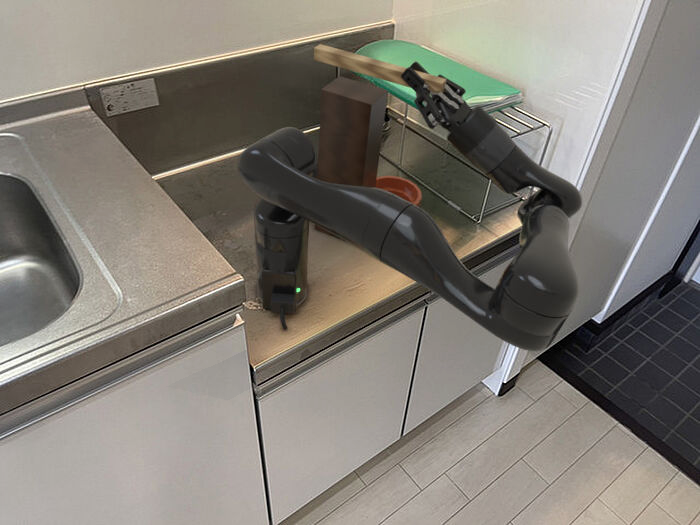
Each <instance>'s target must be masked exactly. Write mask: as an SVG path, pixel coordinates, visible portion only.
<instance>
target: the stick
mask: <svg viewBox="0 0 700 525" xmlns="http://www.w3.org/2000/svg"><path fill="white" fill-rule="evenodd" d="M313 60H314V61H317V62H320V63H322V64H323V63H324V64H326V65H330V66H333V67H337V68H339V69H340V68H341V69H344V70H346V71H351V72H354V73H358V74H361V75H366V76H369V77H372V78H376V79H379V80H383V81H386V82H389V83H392V84H396V85H399V86H403V87H407V88H410V89H412V88H411V87H410V86H409V85H408V84H407V83H406V82H405V81H404V80H403V79H402V78H401V75H402V74H403V72H404V71H405V70H406V69H407V68H408V67H406V66H405V67H404V66H401V65H397V64H393V63H390V62H386V61H383V60H380V59H376V58H372V57H369V56H365V55H361V54H358V53H355V52H350V51H346V50H343V49H340V48H336V47H333V46H330V45H325V44H323V43H319V44H318V45H316V46H314V47H313ZM414 71H415V72H416V73H417V74H418V75H419V76H420V77H421V78H422V79H423V80H424V81H425V83H427V84H428V85H429V86H431V87H432V88H433V89H434V90H435V91H440V92H442V93H443V92H444V89H445V84H446V79H445V78H441V77H437V76H438V75H434V74H431V73H429V74H427V73H423V72H419V71H416V70H414ZM425 83H424V84H425Z"/></svg>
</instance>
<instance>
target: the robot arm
mask: <svg viewBox="0 0 700 525" xmlns="http://www.w3.org/2000/svg"><path fill="white" fill-rule="evenodd" d="M406 68H407V69H406V70H405V71H404V72H403V74H402V75H401V78H402V79H403V80H404V81H405V82H406V83H407V84H408V85H409V86H410V87H411V88H410V87H409V88H410V89H412V90H413V91H414V93H415V99H414V100H413V101H414V104H415V106H416V107H417V109H418V111H419V112H420V114H421V116H422V118H423V119H424V121H425V123H426V125H427V127H428V128H429V129H431V130H434V129H435V128H436V127H437V126H440V127H441V128H442V129H444V130H446V131H447V132H449V133H448V135H447V137H446V139H447V141H448V142H449V143H450V144H451V145H452V146H453V147H454V148H455V149H456V150H457V151H458V152H459V153H460V154H461V155H462V156H463V157H464V158H465V159H466V160H467V161H468V162H469V163H470V164H471V165H473V166H474V167H475V169H478V171H480V172H482V173H483V174H484V175H485V176H486V177H487V178H488V179H489V180H490V181H491V182H492V183H493V184H494V185H495V186H496V187H497V188H498V189H499V190H500V191H501V192H503V193H504V194H506V195H513V194H516V193H518V192H521V191H522V190H524V189H526V188H527V189H528V188H530V187H531V188H532V187H533V188H536V189H537V188H538V189H537V191H535V192H534V193H533V194H532V195H530V196H529V197H528V198H526V199H525V200H524V201H523V202H522V203H521V204H520V205H519V207H518V209H517V218H518V220H519V223H521V229H520V233H519V240H518V243H519V247H520V250H519V251H518V252H517V254H516V255H515V256H514V257H513V258H512V260H511V261H510V262H509V263H508V264H507V266H506V267H505V269H504V270H503V272H502V274H501V276H500V277H499V280H498V282H497V284H496V286H495V288H494V287H492V286H491V285H489V284H488V283H486V282H485V281H483V280H482V279H480V277H478V276H476V275H475V274H474V273H473V272H471V271H470V270H469V268H467V267H466V266H465V264H463V262H462V261H461V260H460V258H459V257H458V255H457V254H456V253H455V251H454V249H453V247H452V246H451V244H450V242H449V241H448V240H447V238H446V236H445V234H444V233H443V231H442V229H441V228H440V227H439V225H438V223H437V222H436V221H435V220H434V218H433V217H432V216H431V215H430V214H429V213H428V212H427V211H426V210H424V209H423V208H421V206H420V207H418V206H416V205H414V204H413V203H411V202H409V201H407V200H405V199H403V198H401V197H399V196H397V195H395V194H393V193H391V192H389V191H386V190H383V189H379V188H374V187H368V186H360V185H350V184H339V183H331V182H326V181H322V180H319V179H317V178H318V155H317V151H316V148H315V146H314V143H313V141H312V140H311V139H310V137H309V136H308V135H307V134H306V133H305V132H304V131H303V130H301V129H298V128H296V127H293V126H292V127H290V126H286V127H282V128H280V129H277V130H275V131H274V132H272V133H270V134H268V135H265V136H264V137H262V138H260V139H258V140H257V141H255V142H253V143H251V144H250V145H249V146H247V147H246V148H245V149H243V151H242V152H241V153H240V155H239V156H238V159H237V163H236V165H237V166H236V167H237V172H238V174H239V177H240V179H241V180H242V182H243V184H244V185H245V186H246V188H247V189H248V190H250V192H252V193H253V194H254V195H255V196H257V197H258V198H259V199H258V201H257V202H256V204H255V206H254V208H253V225H254V246H255V263H256V264H255V266H256V281H257V282H256V283H257V288H256V290H257V291H256V294H257V299H258V300H259V302H260V303H261V304H262V309H263V310H270V313H278V314H279V316H280V317H279V319H280V324H281V327H282V329H283V330H284V331H286V330H287V329H288V325H287V323H286V318H285V317H286V316H285V314H289V315H290V314H291V315H294V314H295V312H296V311H297V308H298V307H300V306H301V305H302V304H303V303H304V302H305V300H306V299H307V296H308V267H309V265H308V264H309V236H310V223H312V224H314V225H315V224H316V225H318V226H320V227H322V228H323V229H325V230H327V231H329V232H331V233H333V234H334V235H336V236H338V237H340V238H342V239H344V240H345V242H347V243H349V244H350V245H351V246H353V247H355V248H357V249H358V250H360V251H361V252H363V253H365V254H366V255H368V256H370V257H371V258H373V259H375V260H376V261H378V262H379V263H382V264H383V265H385V266H387V267H388V268H390V269H393V270H394V271H396V272H398V273H400V274H402V275H403V276H406V277H407V278H409V279H411V280H412V281H414V282H416V283H417V284H419V285H420V286H422V287H423V288H426V289H427V290H429V291H430V292H432V293H433V294H435V295H437V296H438V297H439V298H441V299H443V300H444V301H445V302H447V303H448V304H449V305H451V306H452V307H454V308H455V309H457V310H458V311H460V312H461V313H462V314H464V315H465V316H467V317H468V318H469V319H471V320H472V321H474V322H475V324H478V325H479V326H480V327H482V328H483V329H485V330H486V331H488V332H489V333H490V334H492V335H494V336H495V337H496V338H498V339H500V340H501V341H504V342H505V343H507V344H509V345H511V346H513V347H515V348H518V349H521V350H524V351H528V352H541V351H544V350H546V349H548V348H549V347H550V346H551V344H552V343H553V342H554V340H555V339H556V337H557V336H558V334H559V332H560V331H561V329H562V328H563V326H564V324H565V323H566V321H567V320H568V317H569V316H570V315H571V313H572V311H573V310H574V308H575V306H576V304H577V302H578V299H579V295H580V283H579V278H578V274H577V271H576V268H575V265H574V262H573V259H572V256H571V253H570V250H569V236H570V219H571V218H572V217H573V216H575V215H576V214H577V213H579V211H580V210H581V209H582V206H583V196H582V193H581V192H580V191H579V190H580V189H578V187H576V186H575V184H573V183H571V182H570V181H569V180H567V179H565V178H563V177H561V176H559V175H557V174H555V173H553V172H552V171H550V170H548V169H547V168H545V167H543V166H541V165H540V164H538V163H537V162H535V160H533V159H532V158H531V157H530V156H529V155H528V154H527V153H526V152H525V151H524V150H522V148H520V146H519V145H518V144H516V142H515V141H514V140H513V139H512V137H511V136H510V134H508V132H507V131H506V130H505V129H504V128H503V127H501V125H500V124H499V123H498V122H497V121H496V120H495V119H494V118H493V117H492V116H491V115H490V114H488V112H487V111H485V110H484V108H483V107H481V105H476V106H474V107H473V108H471V107H470V106H469V104H468V103H467V101H466V100H465V99H463V96H464V94H466V93H467V91H466V89H465V88H464V87H463V86H461V85H460V84H457V83H456V82H454V81H452V80H451V79H449V78H447V77H446V76H444V75H442V74H438V75H436V76H437V77H441V78H445V79H446V84H445V89H444V92H443V93H442V92H440V91H435V90H434V89H433V88H432V87H431V86H429V85H428V84H427V83H425V81H424V80H423V79H422V78H421V77H420V76H419V75H418V74H417V73H416V72H415V71H414V70H416V71H419V72H423V73H427V74H430V73H429V72H428V71H427V70H426V69H425V68H424V67H423V66H422V65H421V64H420V62H418V61H413V62H412V63H411V64H410V66H408V67H406ZM424 83H425V84H424ZM342 239H341V240H342ZM344 240H343V241H344Z"/></svg>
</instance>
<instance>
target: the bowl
mask: <svg viewBox="0 0 700 525" xmlns="http://www.w3.org/2000/svg"><path fill="white" fill-rule="evenodd" d="M375 188H379V189H383V190H386V191H389V192H391V193H393V194H395V195H397V196H399V197H401V198H403V199H405V200H407V201H409V202H411V203H413V204H414V205H416V206H418V207H420V208H421V203H422V199H423V196H422V190H421V189H420V187H418V185H417V184H416V183H414V182H412V181H411V180H409V179H407V178H404V177H401V176H396V175H382V176H377V179H376V186H375Z"/></svg>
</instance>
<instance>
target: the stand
mask: <svg viewBox="0 0 700 525" xmlns="http://www.w3.org/2000/svg"><path fill="white" fill-rule="evenodd" d="M388 94H389V90H388V89H385V88H381V87H378V86H374V85H371V84H368V83H365V82H361V81H358V80H354V79H351V78H348V77H344V76H341V75H339V76H338V77H336V78H335V79H333V80H332V81H331V82H329V83H328V84H327V85H326V86H324V87H322V88H321V90H320V109H319V110H320V111H319V132H318V133H319V134H318V155H317V159H318V178H317V179H319V180H322V181H326V182H331V183H339V184H350V185H360V186H368V187H374V188H375V186H376V179H377V177H378V169H379V162H380V156H381V147H382V141H383V133H384V132H383V131H384V125H385V116H386V109H387V102H388ZM314 225H315V226H314V230H317V231H318V232H320V233H321V232H322V233H324V234H327V235H329V236H331V237H335V238H336V239H339V240H342V241H345V240H344V239H342V238H340V237H338V236H336V235H334V234H333V233H331V232H329V231H327V230H325V229H323V228H322V227H320V226H318V225H316V224H314ZM345 242H346V241H345Z"/></svg>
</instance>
